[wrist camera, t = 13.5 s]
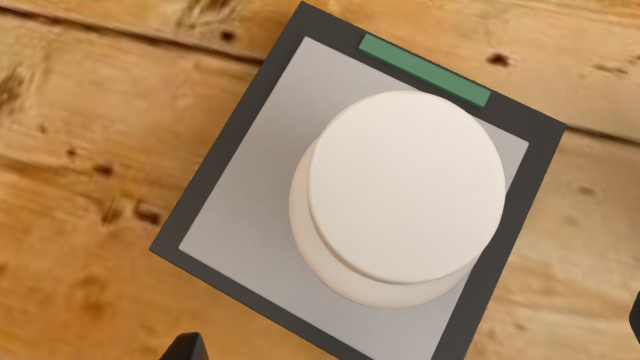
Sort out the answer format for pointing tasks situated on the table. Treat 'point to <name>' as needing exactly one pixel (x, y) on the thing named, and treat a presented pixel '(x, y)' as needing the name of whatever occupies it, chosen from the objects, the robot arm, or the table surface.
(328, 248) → the pill bottle
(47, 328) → the table surface
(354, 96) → the kitchen scale
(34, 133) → the table surface
